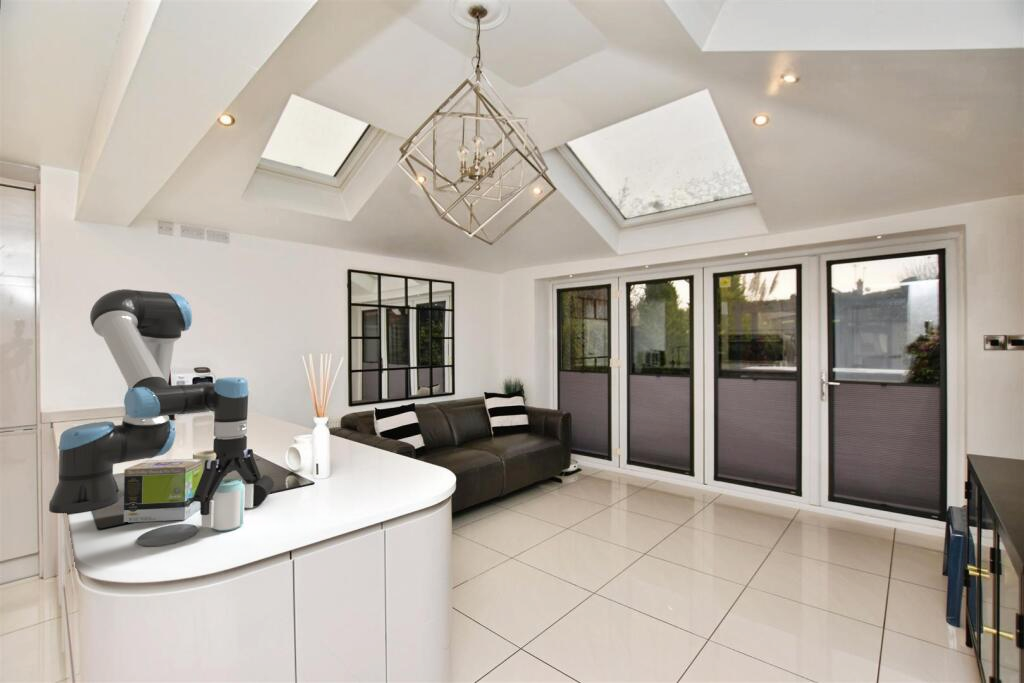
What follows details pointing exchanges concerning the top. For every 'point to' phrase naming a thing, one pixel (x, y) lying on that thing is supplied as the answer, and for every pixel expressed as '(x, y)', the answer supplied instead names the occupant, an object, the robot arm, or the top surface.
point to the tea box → (161, 490)
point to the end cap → (262, 489)
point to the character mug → (205, 456)
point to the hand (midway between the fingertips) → (228, 516)
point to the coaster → (167, 535)
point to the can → (229, 505)
